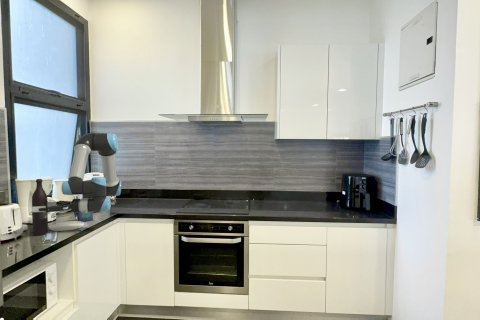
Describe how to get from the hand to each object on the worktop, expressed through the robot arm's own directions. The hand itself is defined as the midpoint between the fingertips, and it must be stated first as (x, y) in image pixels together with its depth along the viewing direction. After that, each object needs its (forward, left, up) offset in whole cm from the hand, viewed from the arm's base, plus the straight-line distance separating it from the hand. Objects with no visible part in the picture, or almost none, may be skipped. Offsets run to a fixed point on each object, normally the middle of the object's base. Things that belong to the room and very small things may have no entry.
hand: (38, 206), depth 166 cm
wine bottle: (0, +1, -15) cm, 15 cm away
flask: (-24, +17, -15) cm, 33 cm away
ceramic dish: (-12, +10, -15) cm, 22 cm away
